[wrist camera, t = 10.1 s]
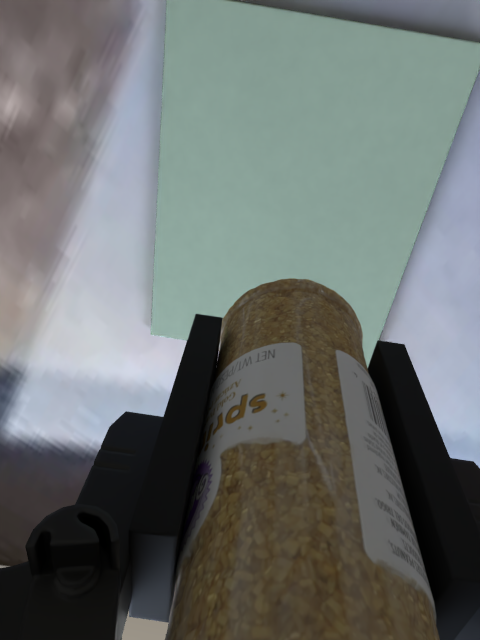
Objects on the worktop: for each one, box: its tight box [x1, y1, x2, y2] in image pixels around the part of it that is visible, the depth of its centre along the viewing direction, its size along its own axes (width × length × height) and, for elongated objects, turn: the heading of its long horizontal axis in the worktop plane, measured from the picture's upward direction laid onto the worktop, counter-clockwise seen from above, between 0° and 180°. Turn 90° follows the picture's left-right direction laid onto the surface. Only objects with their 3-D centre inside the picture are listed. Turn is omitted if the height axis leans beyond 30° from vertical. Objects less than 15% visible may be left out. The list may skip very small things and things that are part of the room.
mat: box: [151, 0, 480, 369], centre depth 24 cm, size 18×14×1 cm
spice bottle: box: [165, 278, 440, 640], centre depth 9 cm, size 5×5×14 cm
